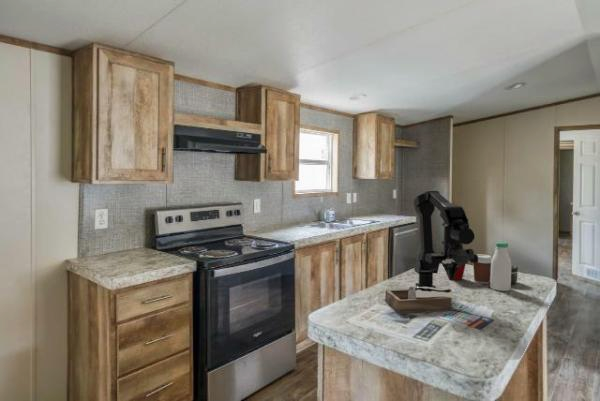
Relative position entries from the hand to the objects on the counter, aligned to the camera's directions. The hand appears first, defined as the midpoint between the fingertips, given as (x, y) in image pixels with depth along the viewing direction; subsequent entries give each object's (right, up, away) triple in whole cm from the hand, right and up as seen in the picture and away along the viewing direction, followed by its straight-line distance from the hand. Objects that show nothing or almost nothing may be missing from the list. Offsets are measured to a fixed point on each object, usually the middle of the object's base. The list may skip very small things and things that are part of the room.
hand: (450, 280), depth 141 cm
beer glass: (-1, -6, -1) cm, 6 cm away
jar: (+36, -7, +29) cm, 47 cm away
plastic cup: (+16, -7, +35) cm, 39 cm away
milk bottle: (+29, -8, +19) cm, 35 cm away
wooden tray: (-13, -9, -1) cm, 16 cm away
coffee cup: (+26, -7, +30) cm, 40 cm away
